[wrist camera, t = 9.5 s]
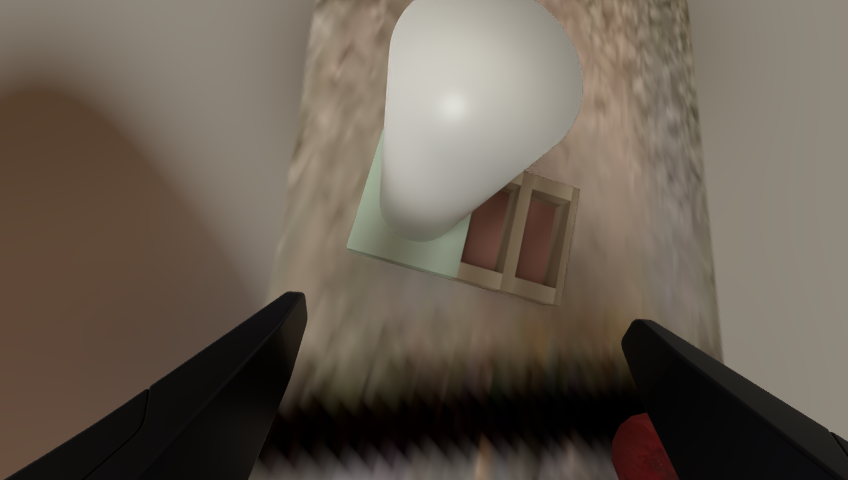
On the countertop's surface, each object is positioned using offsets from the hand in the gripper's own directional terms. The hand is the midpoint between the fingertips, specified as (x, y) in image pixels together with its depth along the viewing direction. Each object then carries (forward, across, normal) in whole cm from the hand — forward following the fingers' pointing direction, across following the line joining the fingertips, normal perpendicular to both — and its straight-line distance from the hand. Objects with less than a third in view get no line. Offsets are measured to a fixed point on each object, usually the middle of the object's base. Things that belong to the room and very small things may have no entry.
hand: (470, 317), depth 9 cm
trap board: (+13, -2, +4) cm, 14 cm away
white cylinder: (+12, +1, +2) cm, 12 cm away
